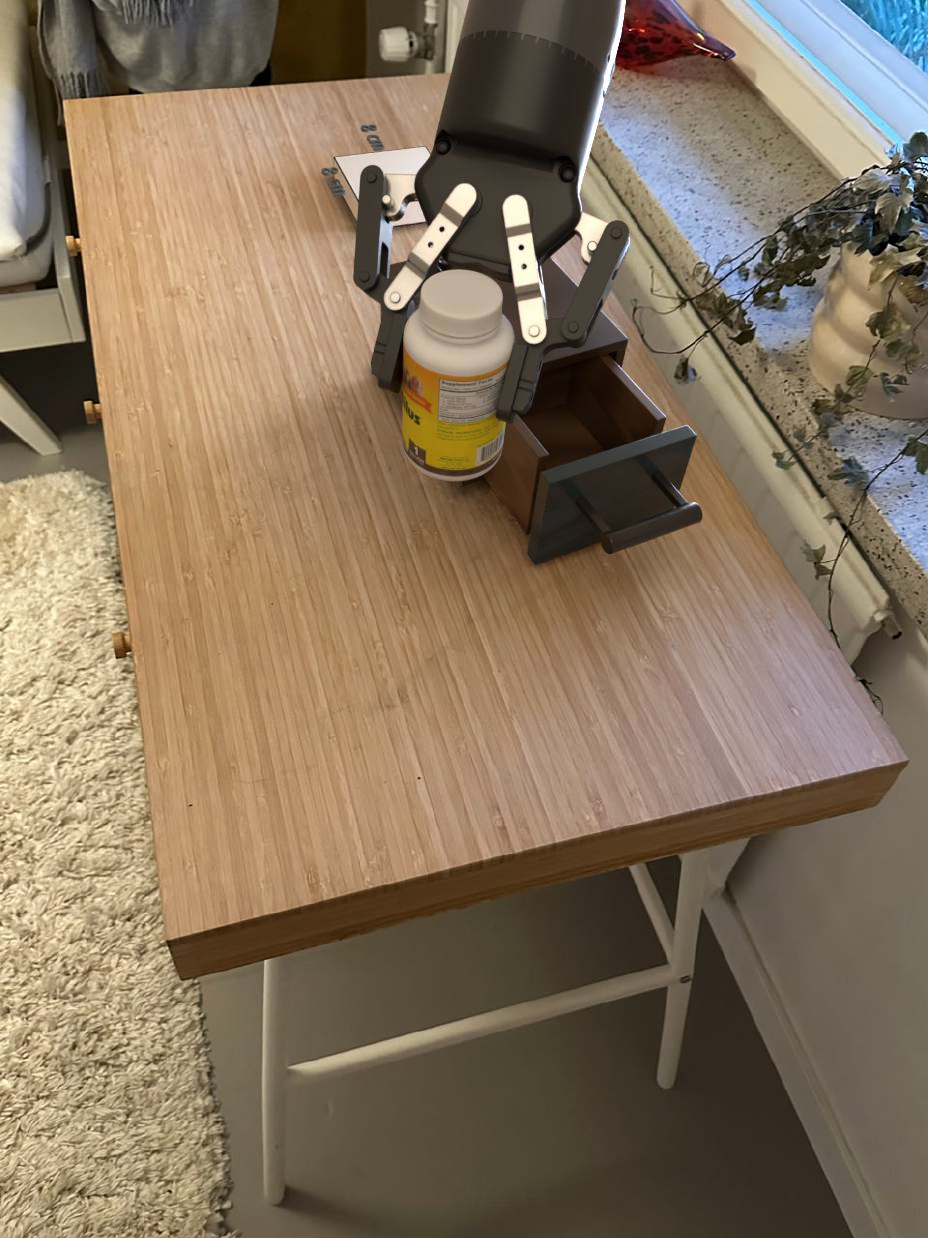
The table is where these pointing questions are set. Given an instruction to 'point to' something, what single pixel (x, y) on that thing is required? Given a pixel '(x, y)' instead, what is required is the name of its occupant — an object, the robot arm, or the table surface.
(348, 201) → the container
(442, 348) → the supplement bottle
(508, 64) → the robot arm
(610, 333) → the cabinet
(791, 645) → the table surface
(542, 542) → the drawer
